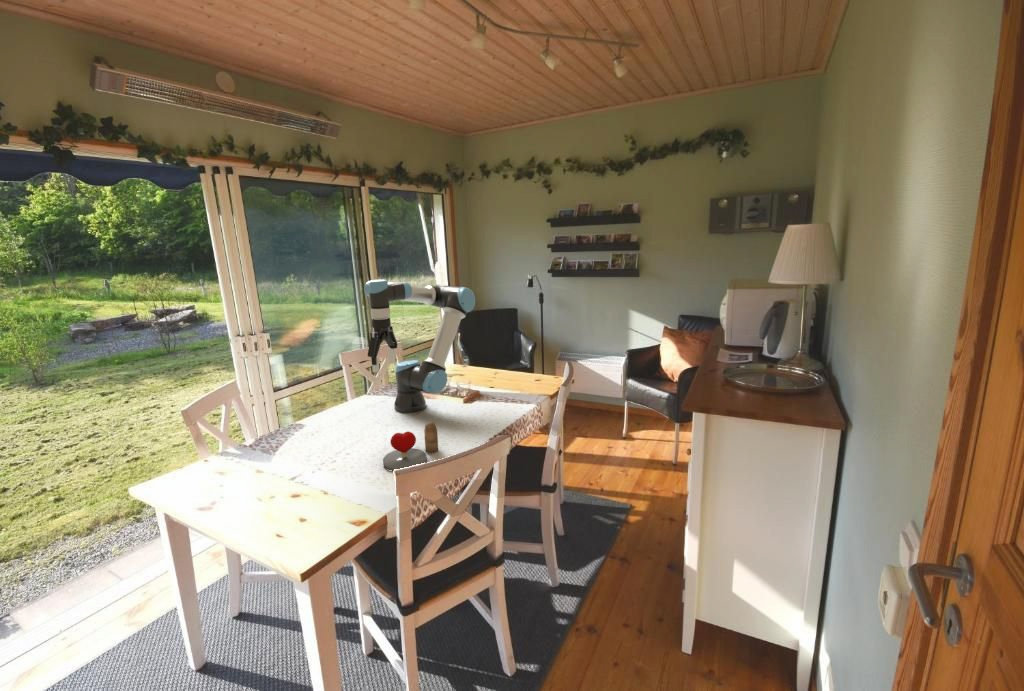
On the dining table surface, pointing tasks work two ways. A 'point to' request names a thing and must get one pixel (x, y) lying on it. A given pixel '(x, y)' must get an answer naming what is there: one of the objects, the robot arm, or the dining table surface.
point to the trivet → (403, 459)
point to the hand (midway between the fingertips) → (384, 367)
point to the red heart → (403, 442)
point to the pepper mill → (431, 438)
